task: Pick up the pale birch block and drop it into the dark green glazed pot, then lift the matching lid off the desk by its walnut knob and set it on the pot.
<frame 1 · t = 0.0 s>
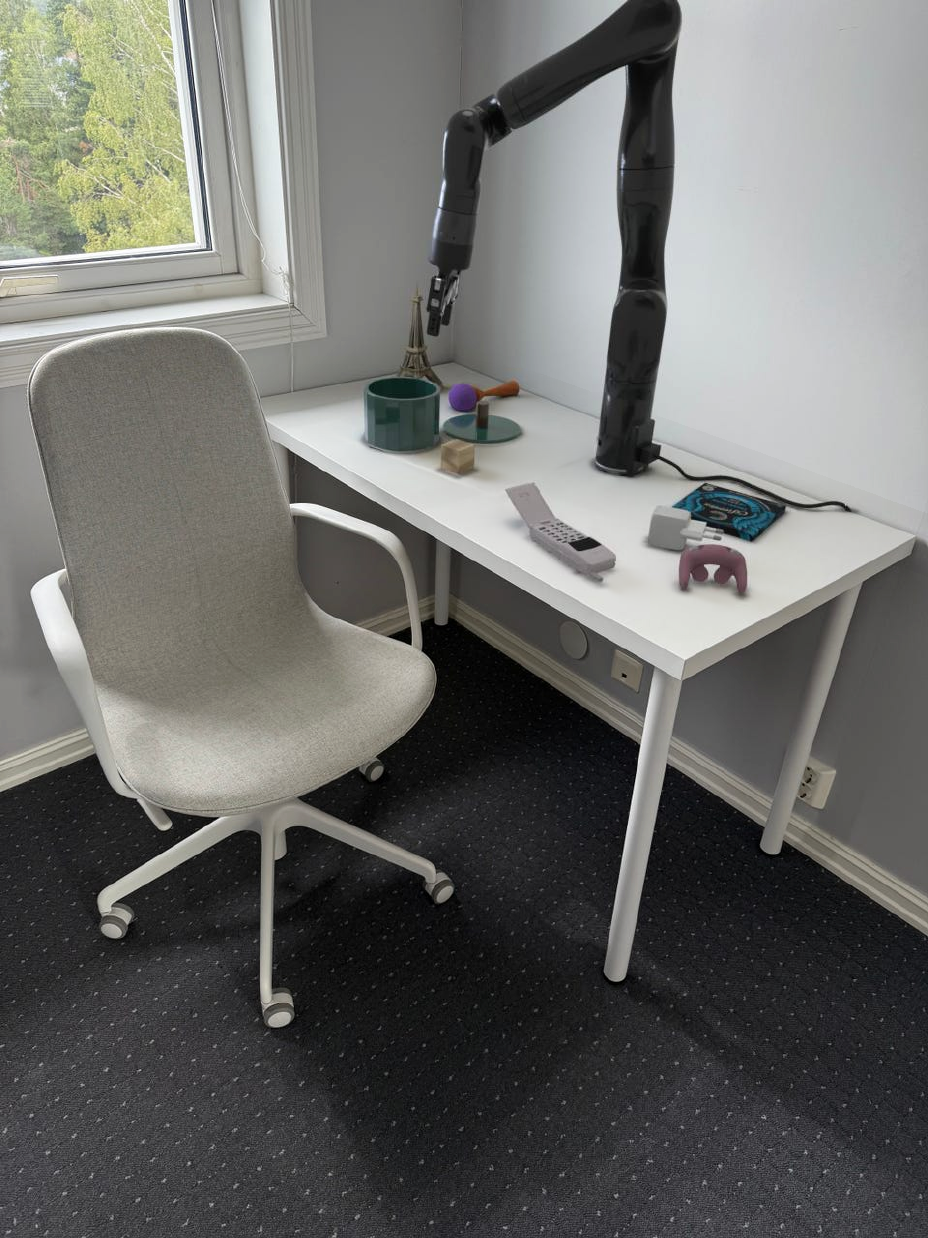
hand: (438, 329, 167), 22 cm above the table, tool pointing down, fingers open, 8 cm apart
kendama: (483, 405, 202), on the table
power adapter: (682, 548, 145), on the table
video game controller: (709, 586, 135), on the table
guitar string package: (726, 514, 157), on the table
block: (457, 470, 169), on the table
mobile phone: (559, 548, 143), on the table
pot: (402, 439, 181), on the table
eiffel tower: (415, 391, 208), on the table
lid: (481, 429, 186), point 1 cm above the table
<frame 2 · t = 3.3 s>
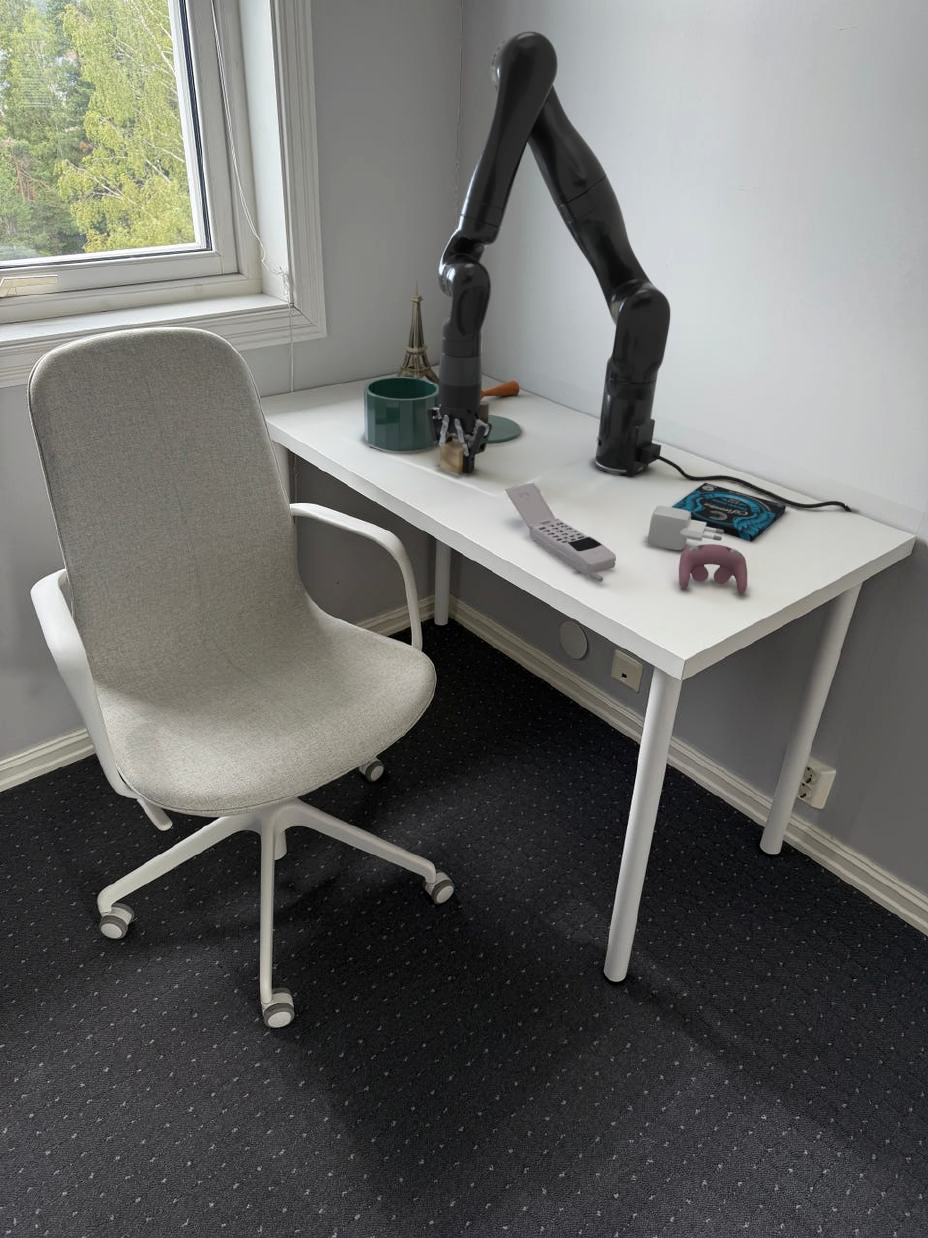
hand: (457, 468, 168), 0 cm above the table, tool pointing down, fingers closed on block, 4 cm apart
block: (457, 470, 169), on the table, touching gripper
everything else where it was.
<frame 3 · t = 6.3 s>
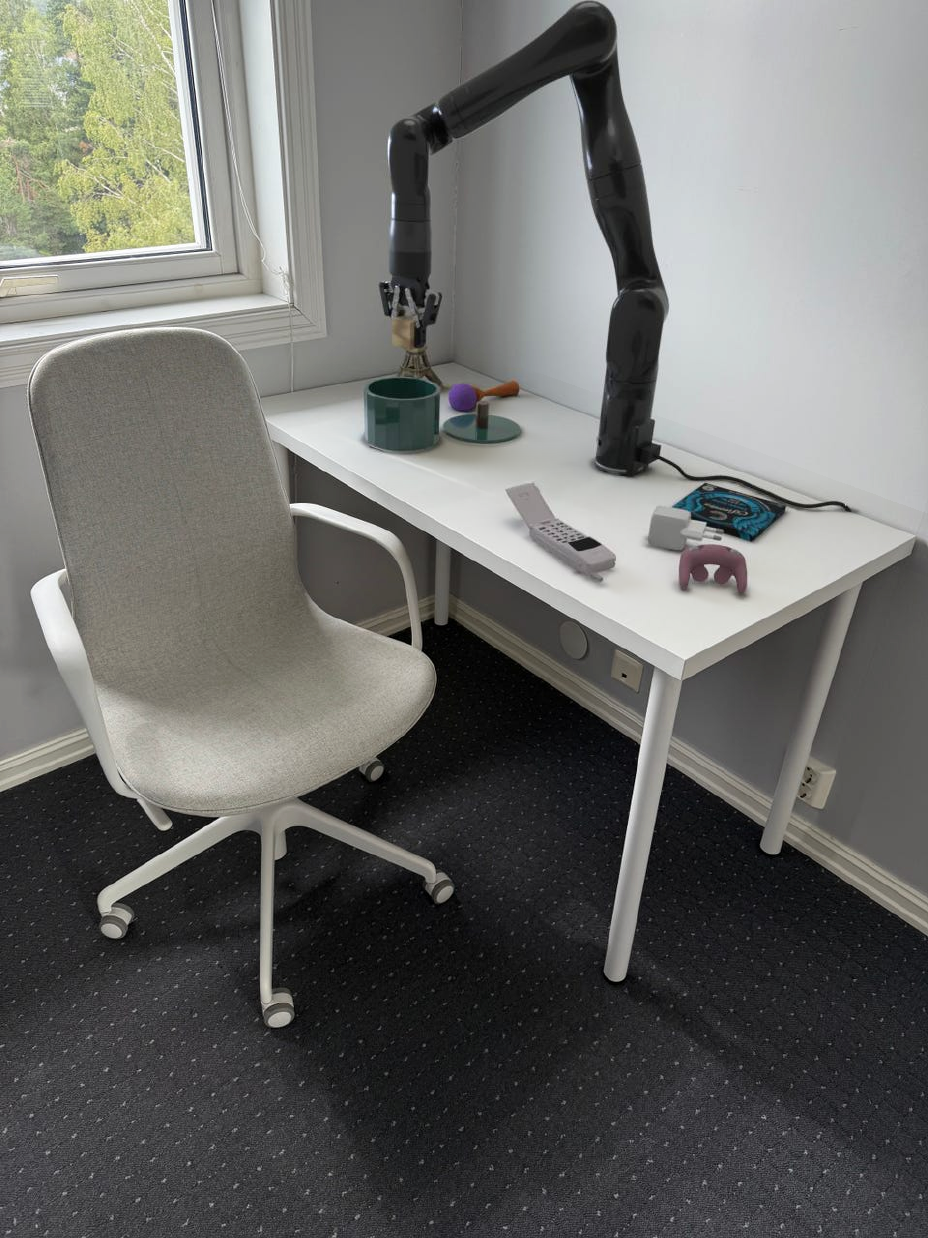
hand: (409, 343, 169), 19 cm above the table, tool pointing down, fingers closed on block, 4 cm apart
block: (409, 345, 169), point 19 cm above the table, touching gripper
everything else where it was.
when the fingers open (8 cm above the table, at t = 9.5 s): block drops 7 cm, resting on pot.
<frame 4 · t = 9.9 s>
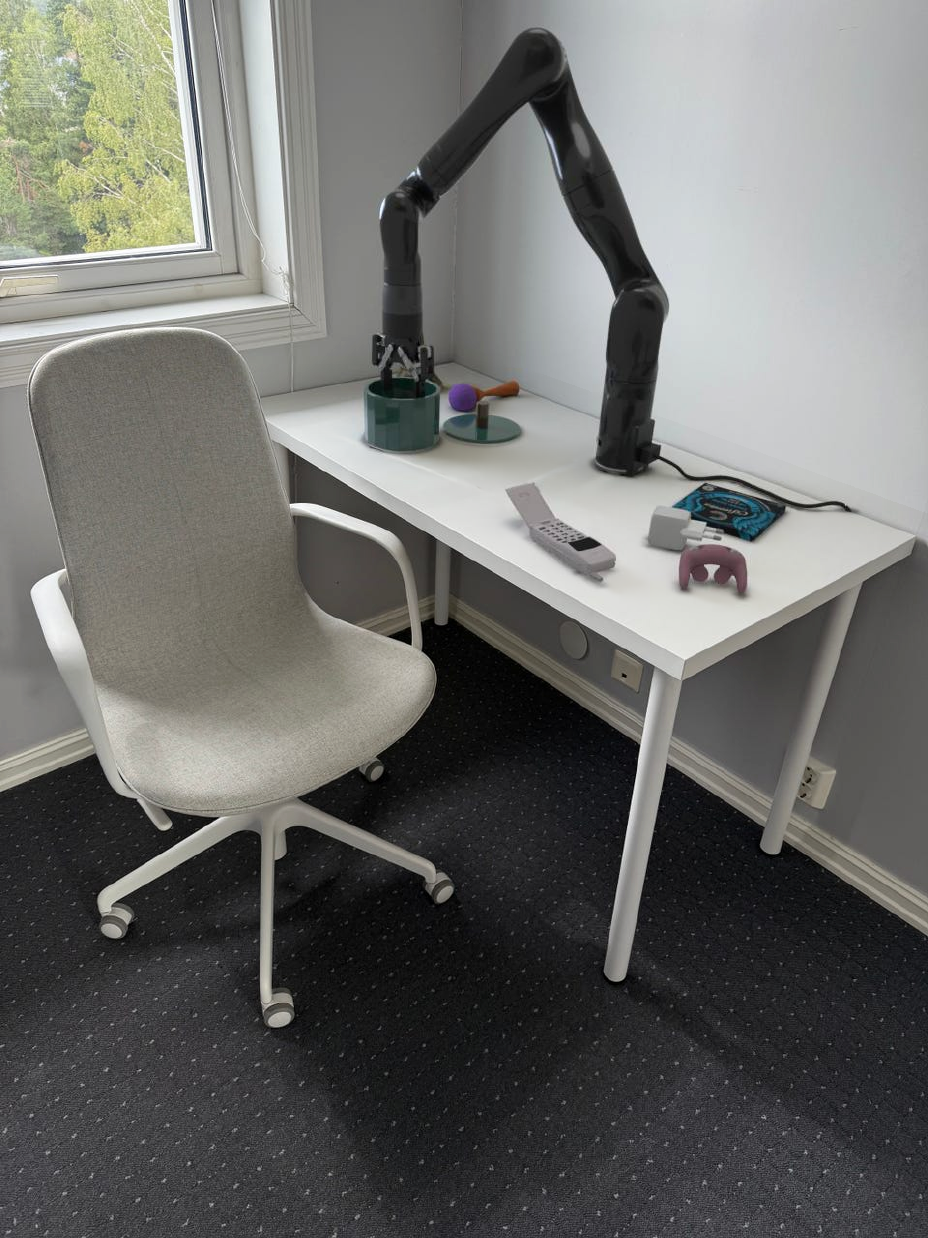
hand: (402, 394, 176), 9 cm above the table, tool pointing down, fingers open, 8 cm apart
block: (402, 437, 181), resting on pot
everything else where it was.
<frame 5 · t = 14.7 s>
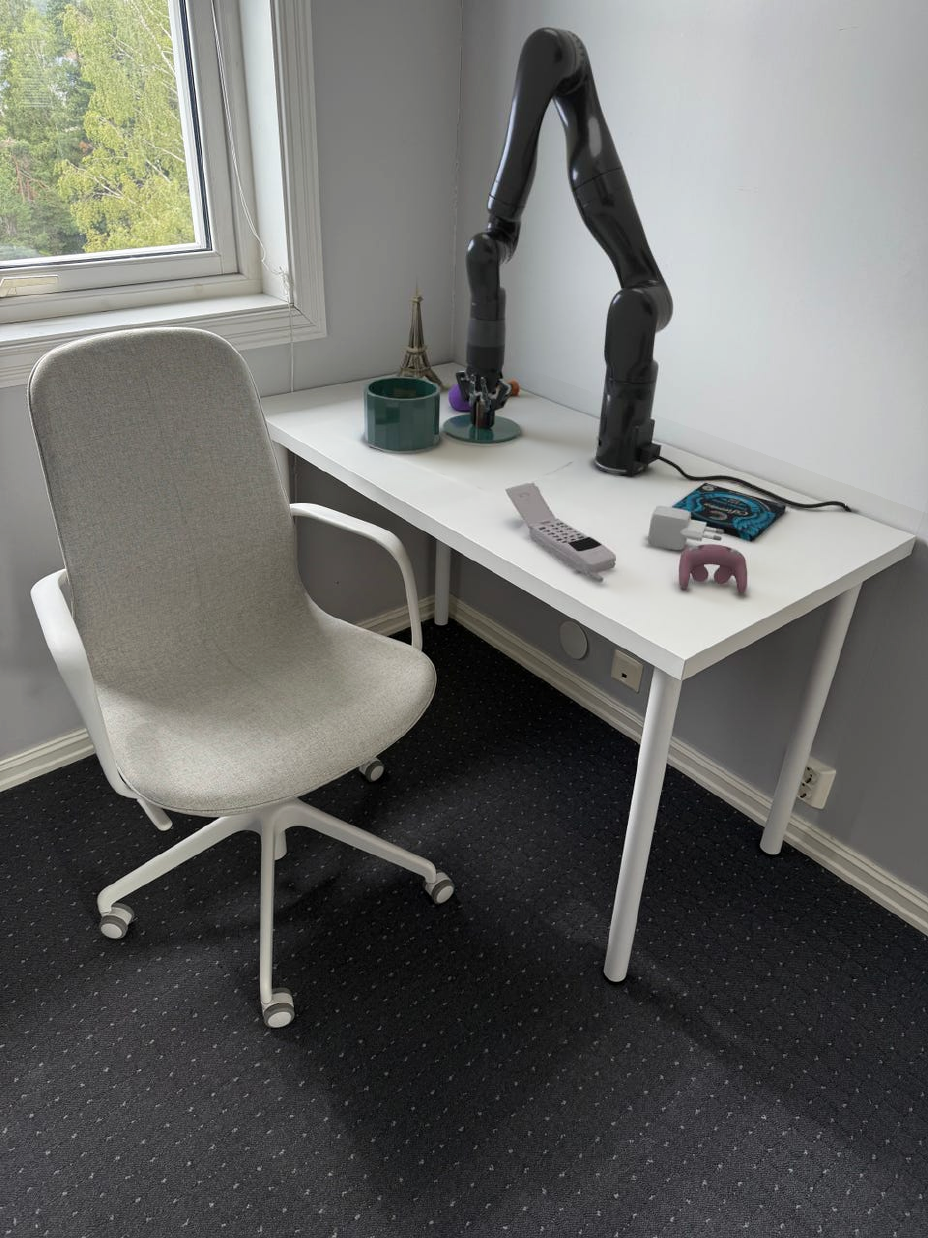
hand: (481, 425, 186), 1 cm above the table, tool pointing down, fingers closed on lid, 2 cm apart
lid: (481, 429, 186), point 1 cm above the table, touching gripper
everything else where it was.
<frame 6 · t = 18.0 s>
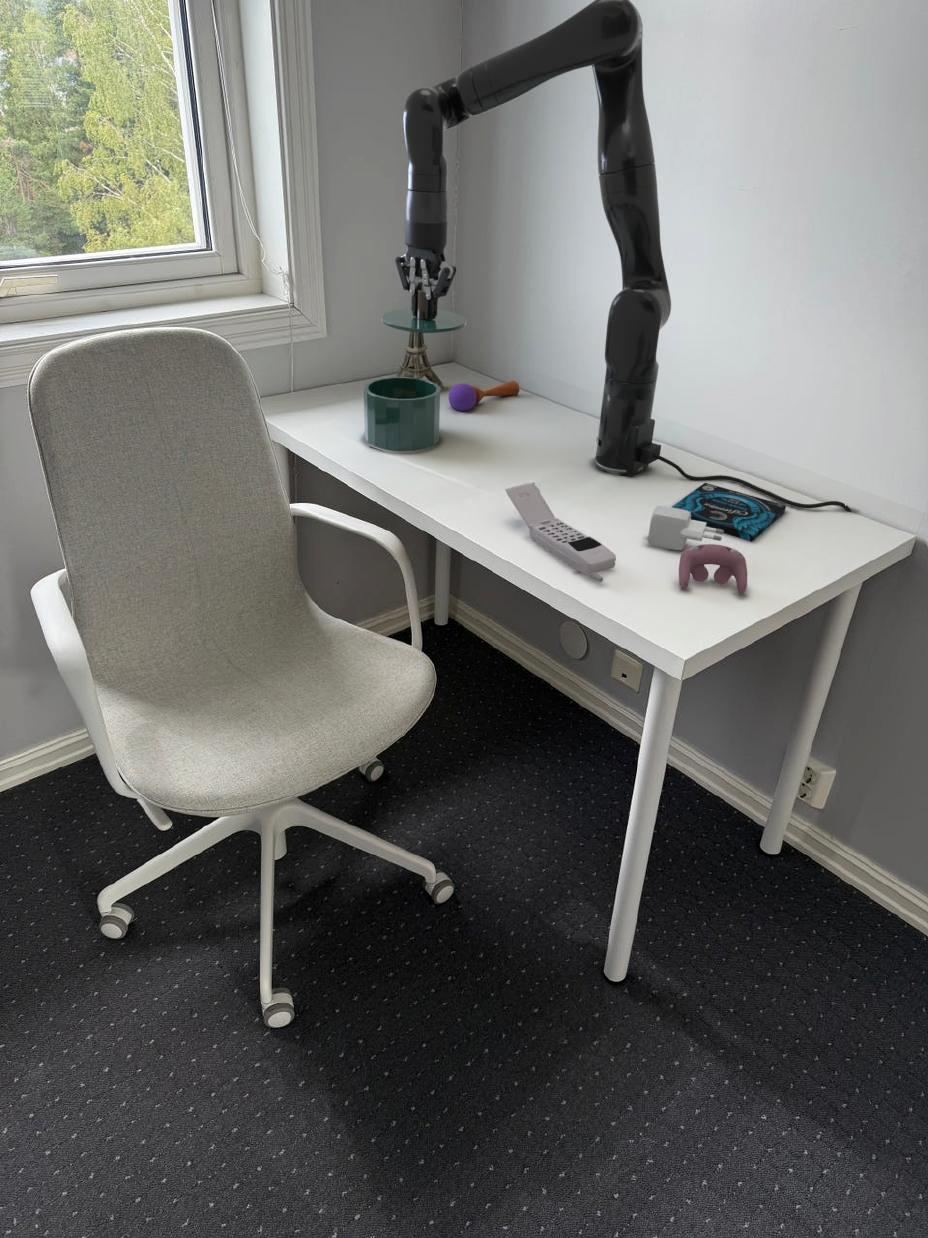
hand: (423, 316, 170), 24 cm above the table, tool pointing down, fingers closed on lid, 2 cm apart
lid: (424, 321, 171), point 23 cm above the table, touching gripper
everything else where it was.
when the fingers open (11 cm above the table, at t = 21.3 s): lid stays where it is, resting on pot.
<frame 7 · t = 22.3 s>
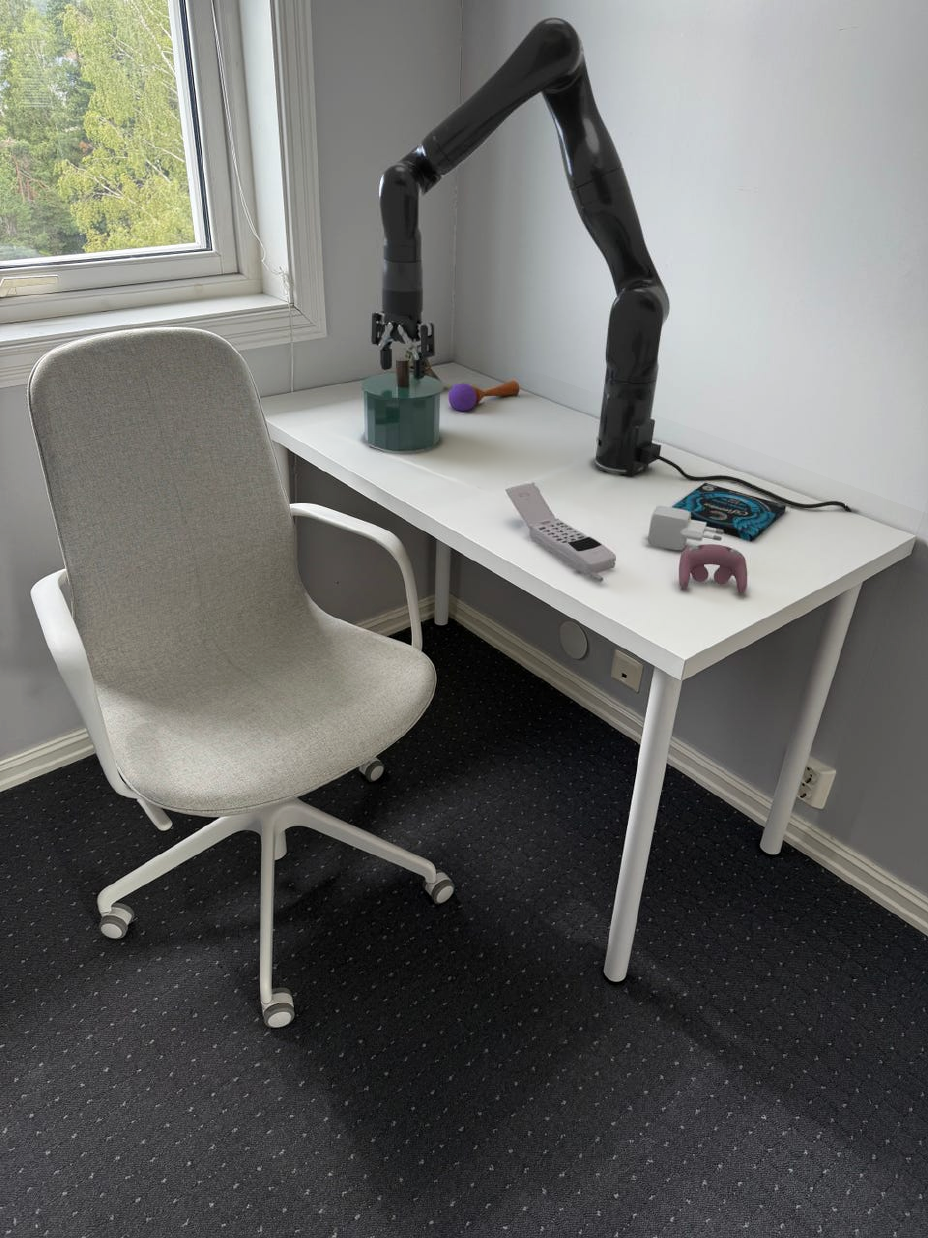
hand: (402, 373, 174), 13 cm above the table, tool pointing down, fingers open, 8 cm apart
lid: (402, 387, 175), point 10 cm above the table, touching pot
everything else where it was.
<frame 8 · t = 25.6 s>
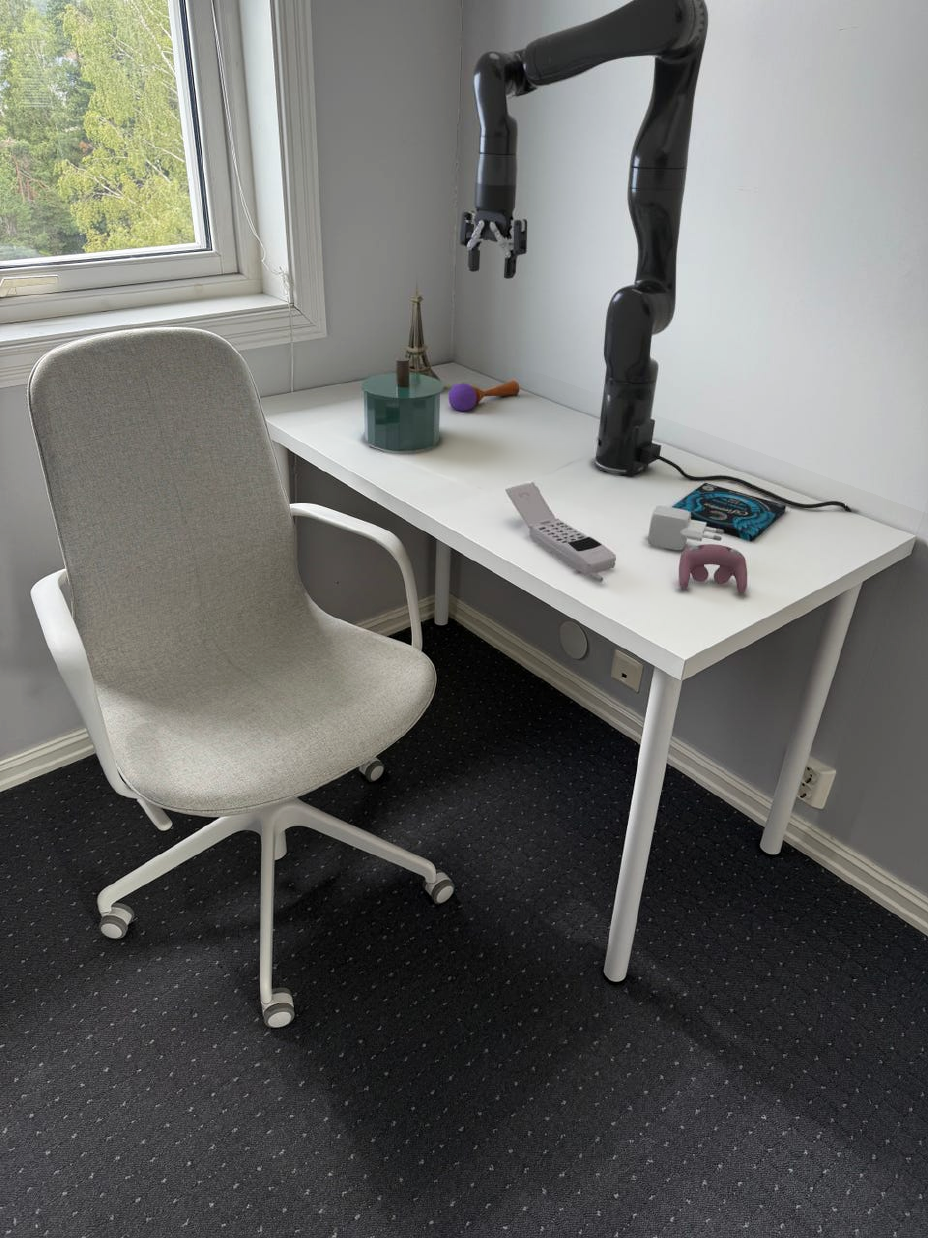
hand: (491, 274, 174), 30 cm above the table, tool pointing down, fingers open, 8 cm apart
nothing on the table moved.
at the end: block inside the target area in the pot (0.1 cm from its centre), point 0.5 cm above the pot's base; lid 0.1 cm off-centre on the pot, point 10.5 cm above the pot's base; lid tilted 0° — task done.
